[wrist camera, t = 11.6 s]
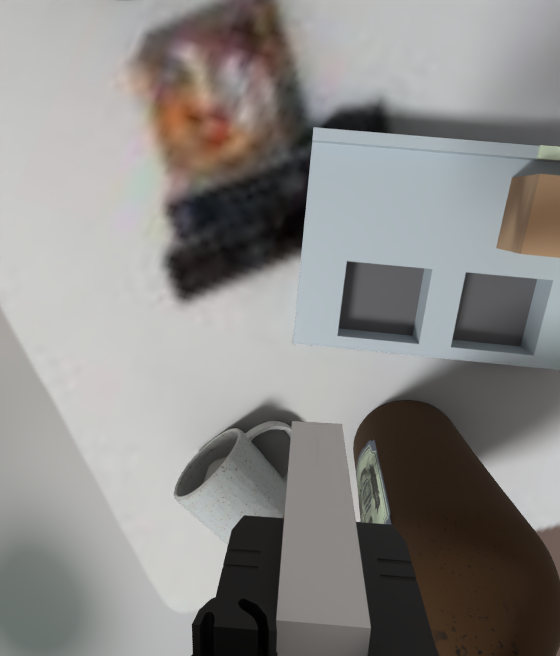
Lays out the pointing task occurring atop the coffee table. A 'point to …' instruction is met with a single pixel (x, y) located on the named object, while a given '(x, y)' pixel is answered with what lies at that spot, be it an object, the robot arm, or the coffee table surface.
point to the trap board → (423, 251)
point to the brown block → (532, 216)
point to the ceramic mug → (232, 481)
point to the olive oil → (457, 535)
